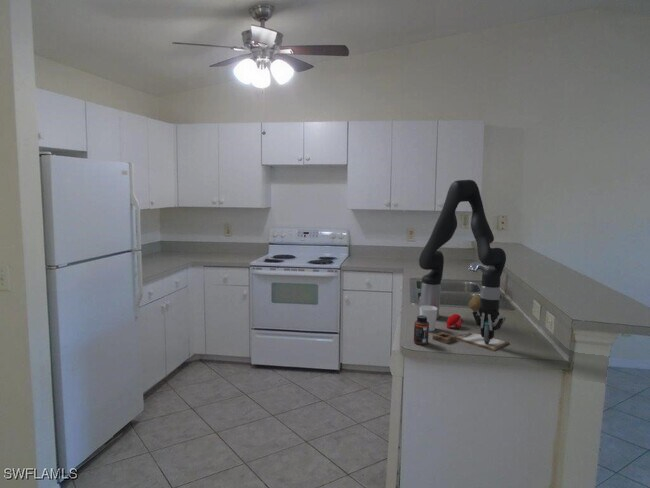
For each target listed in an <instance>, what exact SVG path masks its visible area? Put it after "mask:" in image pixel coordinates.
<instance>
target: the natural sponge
mask: <svg viewBox="0 0 650 488" xmlns="http://www.w3.org/2000/svg"><path fill="white" fill-rule="evenodd" d="M479 305H480V294H478V295H475V296H473V297H472V298H471V299H470V301H468V308H469V309H470V310H472V312H474V311H478V310H479V308H480V306H479Z"/></svg>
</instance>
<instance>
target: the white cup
mask: <svg viewBox="0 0 650 488" xmlns="http://www.w3.org/2000/svg"><path fill="white" fill-rule="evenodd" d="M420 315H423V316H426V317H427V322H428V323H429V332H434V331H435V330H436V325H437V319H438V318H437V308H436V307H434V306H420ZM436 318H437V319H436Z"/></svg>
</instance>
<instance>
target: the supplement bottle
mask: <svg viewBox="0 0 650 488" xmlns="http://www.w3.org/2000/svg"><path fill="white" fill-rule="evenodd" d="M413 326H414V328H413V342H414V343H415V344H417V345H421V346H424V345H427V344H428V343H429V336H430V335H429V334H430V333H429V332H430V331H429V323H428V322H427V317H426V316H423V315H419V314H418V315H417V318H416V320H415V321H414V325H413Z"/></svg>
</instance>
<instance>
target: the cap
mask: <svg viewBox="0 0 650 488" xmlns="http://www.w3.org/2000/svg"><path fill="white" fill-rule="evenodd" d="M462 324H463V319H462V318H461V315H459V314H457V313H454V314H451V315H449V316H448V317H447V322H446V326H445V327H446V329H450V328H451V327H452V326H455V327H457V329H460V328H461V326H462Z"/></svg>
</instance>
